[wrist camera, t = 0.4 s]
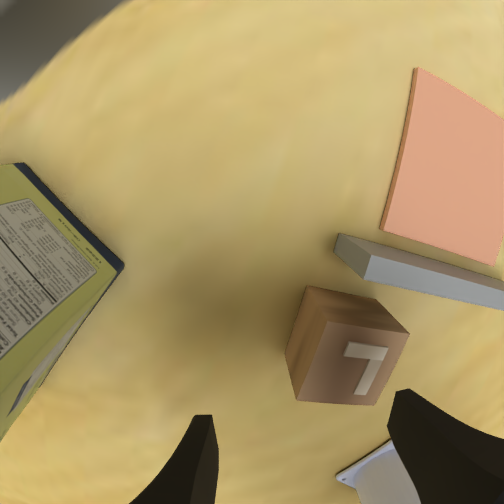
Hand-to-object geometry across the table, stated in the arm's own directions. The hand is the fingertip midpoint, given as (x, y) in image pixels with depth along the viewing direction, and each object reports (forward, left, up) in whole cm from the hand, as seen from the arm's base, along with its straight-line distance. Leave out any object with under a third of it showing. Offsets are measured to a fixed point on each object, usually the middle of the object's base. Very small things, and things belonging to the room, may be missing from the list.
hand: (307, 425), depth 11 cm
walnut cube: (-3, -2, -10) cm, 10 cm away
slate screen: (-5, -10, -10) cm, 15 cm away
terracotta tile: (-2, -16, -10) cm, 19 cm away
